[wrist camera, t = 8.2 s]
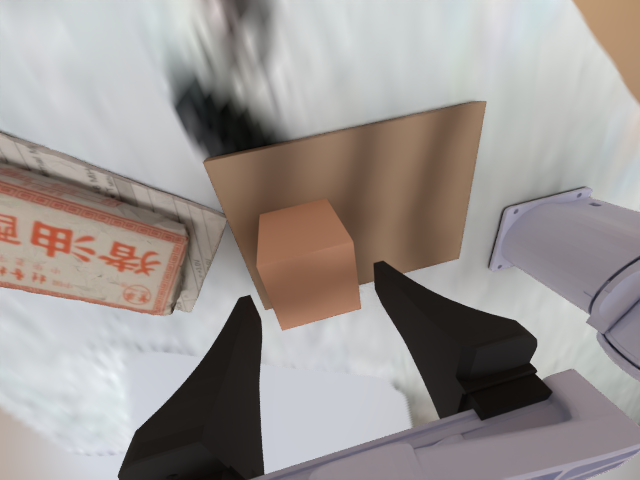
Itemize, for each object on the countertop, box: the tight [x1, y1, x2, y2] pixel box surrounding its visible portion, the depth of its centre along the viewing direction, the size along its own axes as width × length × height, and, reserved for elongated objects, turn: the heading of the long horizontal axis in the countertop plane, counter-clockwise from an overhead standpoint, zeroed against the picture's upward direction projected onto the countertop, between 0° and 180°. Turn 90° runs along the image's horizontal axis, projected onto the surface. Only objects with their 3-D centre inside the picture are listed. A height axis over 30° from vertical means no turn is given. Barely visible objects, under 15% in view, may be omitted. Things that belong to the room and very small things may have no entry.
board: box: [203, 101, 487, 310], centre depth 20 cm, size 20×14×1 cm
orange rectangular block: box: [256, 198, 361, 331], centre depth 17 cm, size 5×5×7 cm
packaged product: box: [0, 133, 227, 316], centre depth 15 cm, size 18×5×10 cm
